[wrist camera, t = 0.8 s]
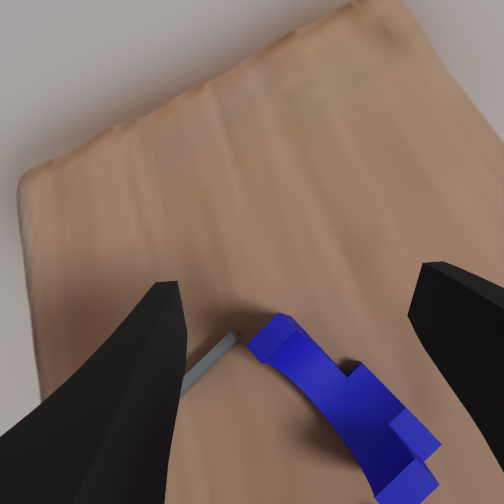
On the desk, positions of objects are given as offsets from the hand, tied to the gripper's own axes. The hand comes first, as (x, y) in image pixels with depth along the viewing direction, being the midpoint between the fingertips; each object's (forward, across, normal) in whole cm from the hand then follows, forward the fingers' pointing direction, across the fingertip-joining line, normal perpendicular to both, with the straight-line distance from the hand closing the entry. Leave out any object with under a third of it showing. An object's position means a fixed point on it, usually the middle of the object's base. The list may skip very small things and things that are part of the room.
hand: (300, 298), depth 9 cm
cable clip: (+8, -5, +15) cm, 18 cm away
